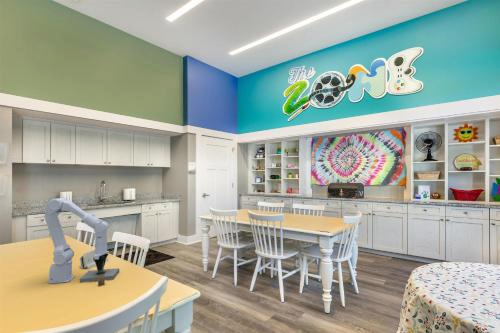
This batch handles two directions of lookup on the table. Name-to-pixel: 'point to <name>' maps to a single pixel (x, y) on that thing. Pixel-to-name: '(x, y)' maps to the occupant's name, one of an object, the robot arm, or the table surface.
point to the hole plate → (93, 275)
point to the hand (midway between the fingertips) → (100, 268)
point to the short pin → (101, 280)
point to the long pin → (101, 270)
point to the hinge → (88, 260)
